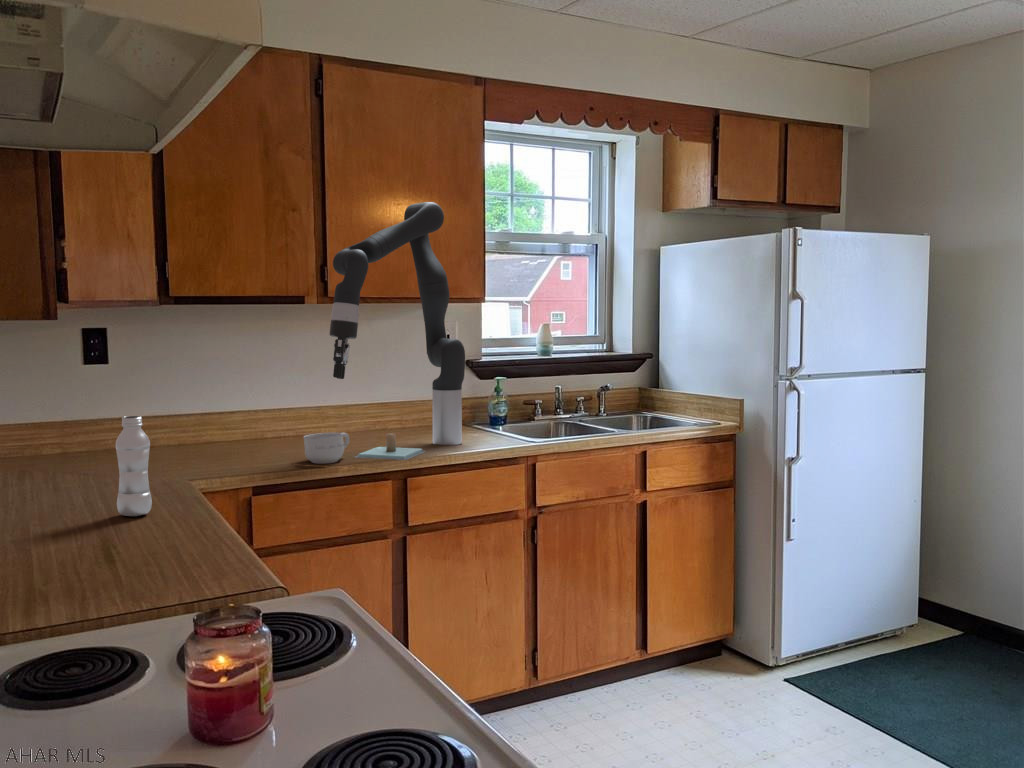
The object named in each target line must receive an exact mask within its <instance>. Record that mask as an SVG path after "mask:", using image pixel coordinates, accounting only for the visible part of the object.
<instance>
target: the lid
mask: <svg viewBox="0 0 1024 768" xmlns="http://www.w3.org/2000/svg"><path fill="white" fill-rule="evenodd" d="M422 451H424V450H423V448H417V447H415V448H414V447H397V434H396V433H386V434H385V446H377V447H373V448H371V449H368V450H366V451H363V452H360V453H358V455H357V456H358V457H373V458H372V459H377V458H393V459H392V460H397V459H406V458H408V457H411V456H413V455H415V454H418V453H420V452H422Z"/></svg>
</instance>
